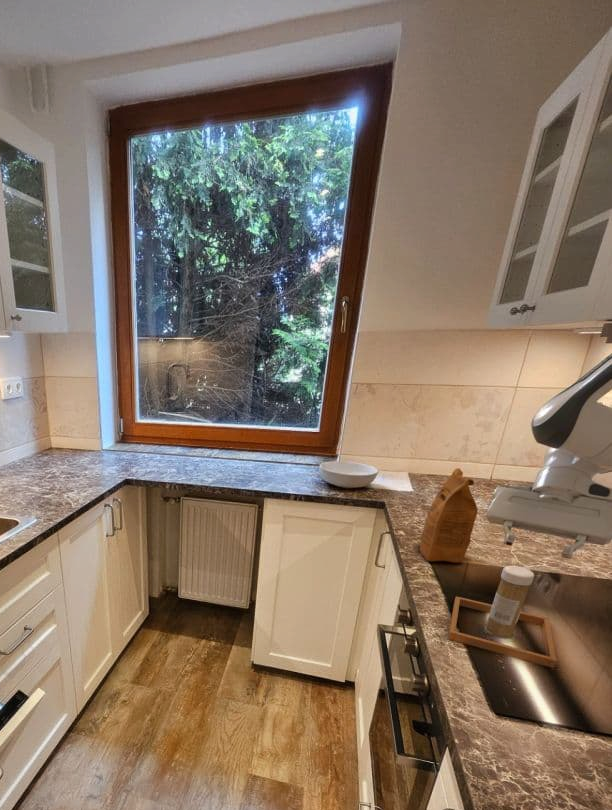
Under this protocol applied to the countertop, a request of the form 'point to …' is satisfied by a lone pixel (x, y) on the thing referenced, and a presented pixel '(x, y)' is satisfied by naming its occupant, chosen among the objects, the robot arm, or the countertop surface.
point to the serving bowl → (347, 474)
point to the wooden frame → (501, 648)
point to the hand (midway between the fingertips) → (536, 550)
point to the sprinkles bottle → (508, 601)
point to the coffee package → (450, 521)
